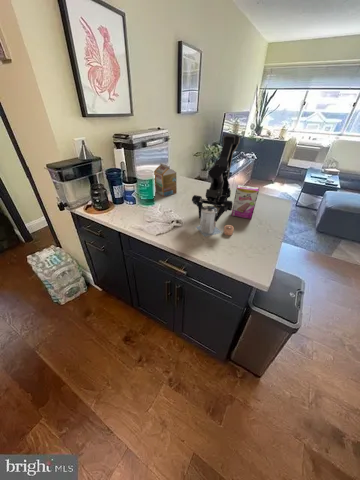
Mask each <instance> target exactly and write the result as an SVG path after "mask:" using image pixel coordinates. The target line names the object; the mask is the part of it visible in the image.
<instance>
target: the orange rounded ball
mask: <svg viewBox="0 0 360 480" xmlns="http://www.w3.org/2000/svg"><path fill="white" fill-rule="evenodd" d="M223 228H224V229H223V234H224V236H232V235H233V234H234V230H235V229H234V226H233V225H231V224H226V225H224V227H223Z"/></svg>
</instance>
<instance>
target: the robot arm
mask: <svg viewBox="0 0 360 480" xmlns="http://www.w3.org/2000/svg"><path fill="white" fill-rule="evenodd" d="M222 138H223V139H222V148H221V152H220V154H219V158H218V159H216V160H215V163H214V165H213V166H212V167H211V168H210V169H209V171H208V176H209V181H210V187H209V189H206V191H205V199H204V198H202V196H201V195H195V194H194V195H192V197H191V202H192V203H193V205H196V207H197V208H198V218H199V219H200V220H201V209H202V207H204V205H203V204H205V205H206V204H207V205H210V206H212V205H213V206H216V208H218V209H219V210H218V211H217V217H216V223H217V222H218V220H219V219H220V218H221V216H222V215H223V214H225V212H228V211H231V212H232V209H233V204H234V201H232V200H228V199H229V198H231V192H232V191H231V188H230V186H231V185H230V183H229V177H230V172H231V166H232V161H233V157H234V153H235V151H236V150H237V149H238V145H240V142H241V136H239V134H236V133H235V134H233V133H226V134H225V135H223V137H222Z"/></svg>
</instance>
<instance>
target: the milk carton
mask: <svg viewBox="0 0 360 480" xmlns="http://www.w3.org/2000/svg"><path fill="white" fill-rule="evenodd" d="M154 175H155V178H154V191H155V193H157V194H158V195H160V196H161V197H168V196H172V195H175V194H178V193H177V189H178V188H177V187H178V185H177V183H178V182H177V172H176V171H175V170H174V169H172V168H171V167H170V165H168V164H167V163H166V164H165V163H163V162H160V164H159V165H158V166H157V167H156V168H155V169H154V171H153V176H154Z"/></svg>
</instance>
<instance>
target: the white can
mask: <svg viewBox="0 0 360 480" xmlns="http://www.w3.org/2000/svg"><path fill="white" fill-rule="evenodd" d="M217 208H218V207H215V206H214V205H213V206H212V205H205V206H204V205H203V207H202V209H201V218H200V222H199V224H200V225H199V226H200V231H199V233H200V234H202V233H203V234H206V235H210V234H213V233H214V232H215V226H216V224H217V222H216V217H217V214H218V209H217ZM210 236H211V235H210Z"/></svg>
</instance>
